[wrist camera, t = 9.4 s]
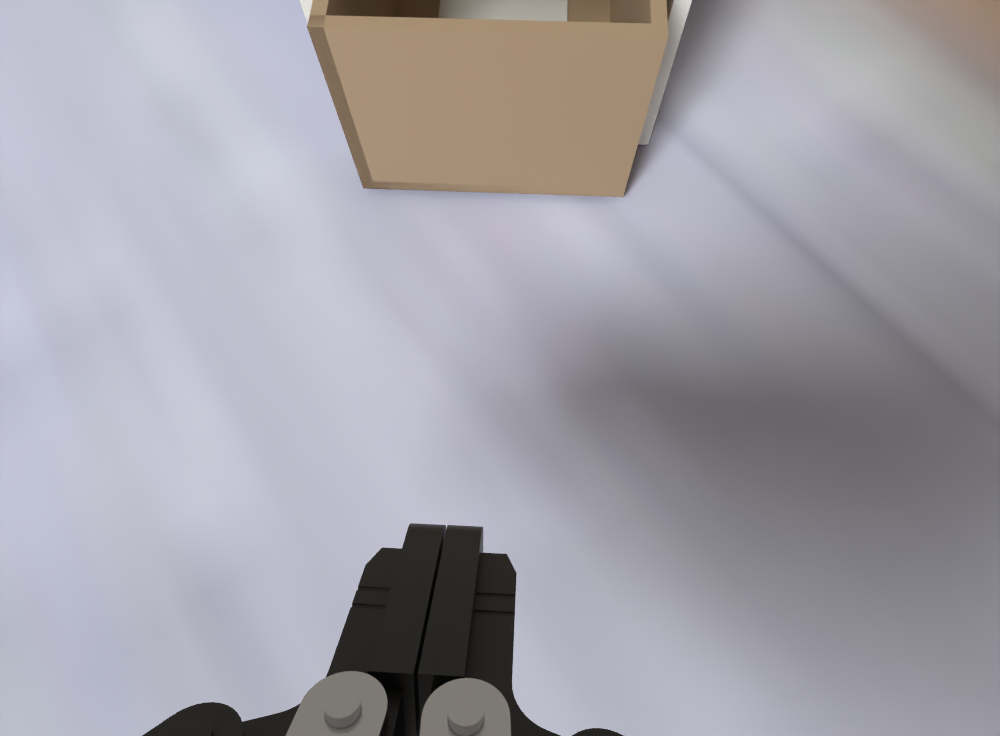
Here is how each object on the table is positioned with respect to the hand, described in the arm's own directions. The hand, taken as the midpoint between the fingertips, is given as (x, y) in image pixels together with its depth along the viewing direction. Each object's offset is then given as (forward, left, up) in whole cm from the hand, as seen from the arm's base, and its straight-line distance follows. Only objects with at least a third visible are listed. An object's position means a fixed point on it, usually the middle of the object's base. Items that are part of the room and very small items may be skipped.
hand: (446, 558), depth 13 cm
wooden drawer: (0, -27, -9) cm, 29 cm away
